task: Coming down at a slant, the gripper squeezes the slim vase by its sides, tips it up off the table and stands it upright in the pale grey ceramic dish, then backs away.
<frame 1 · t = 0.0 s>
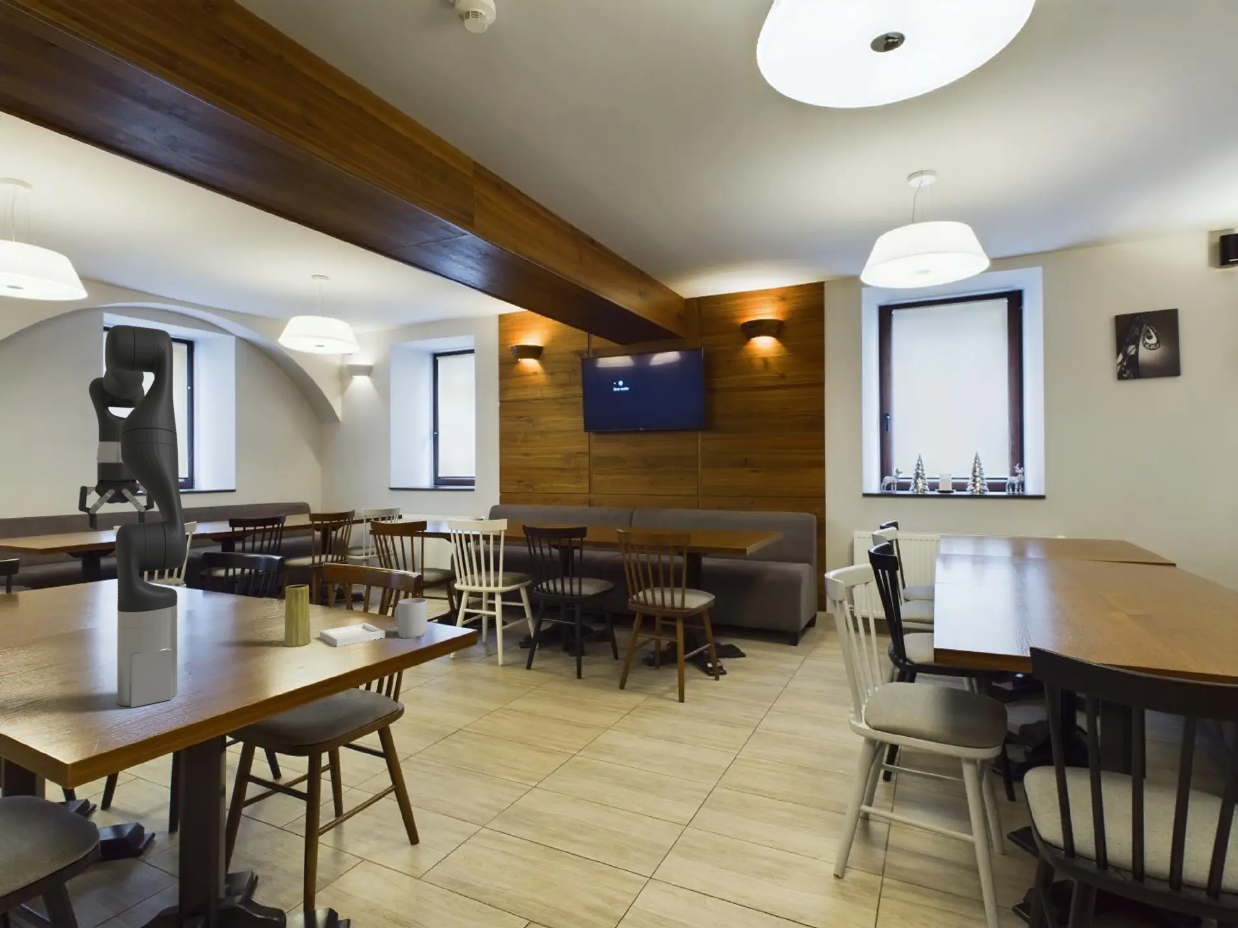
hand: (117, 528, 155), 29 cm above the table, tool pointing down, fingers open, 8 cm apart
cup: (409, 635, 169), on the table
dish: (352, 637, 166), on the table
vase: (297, 644, 161), on the table
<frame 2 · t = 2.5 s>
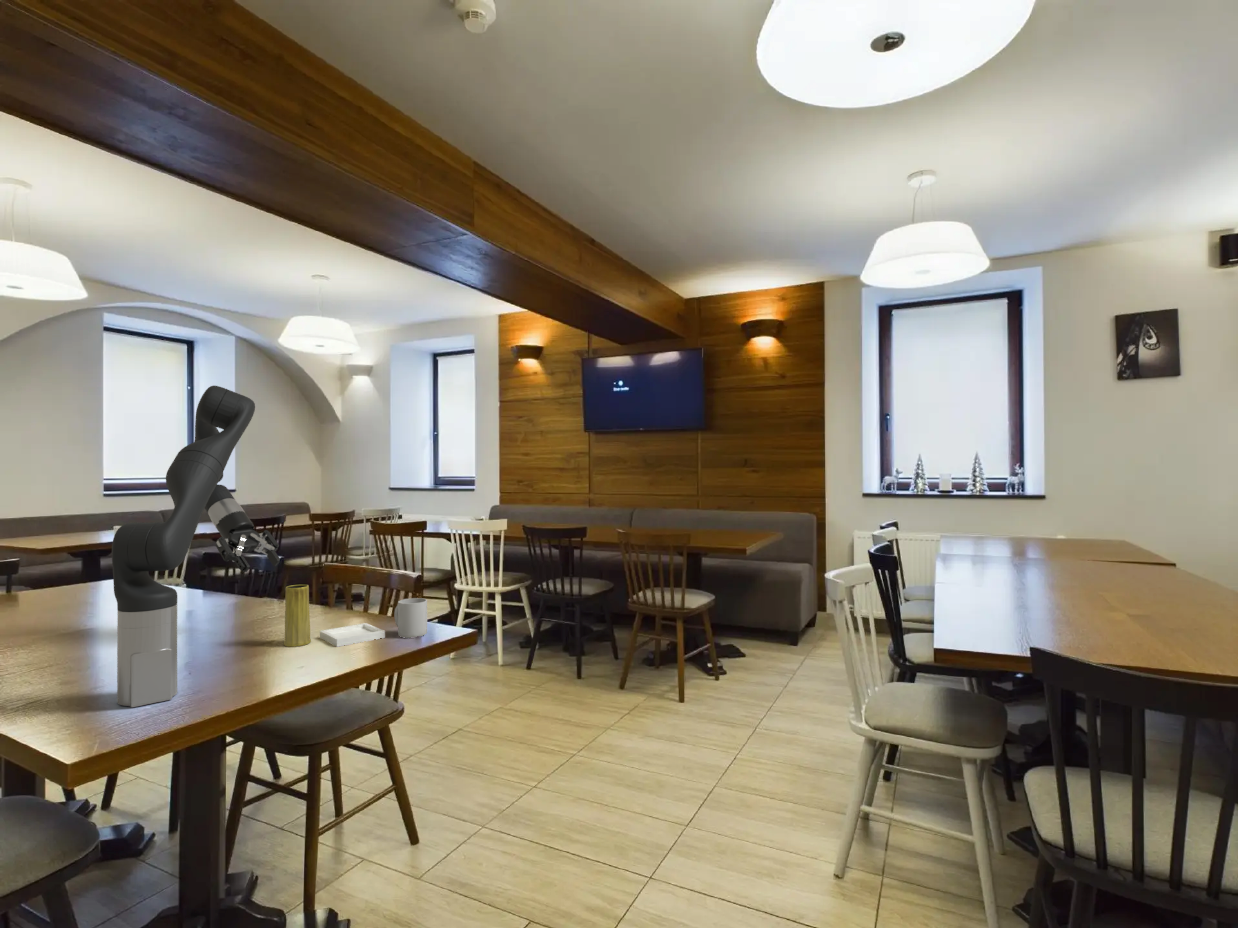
hand: (262, 566, 165), 18 cm above the table, tool tilted 45°, fingers open, 8 cm apart
nothing on the table moved.
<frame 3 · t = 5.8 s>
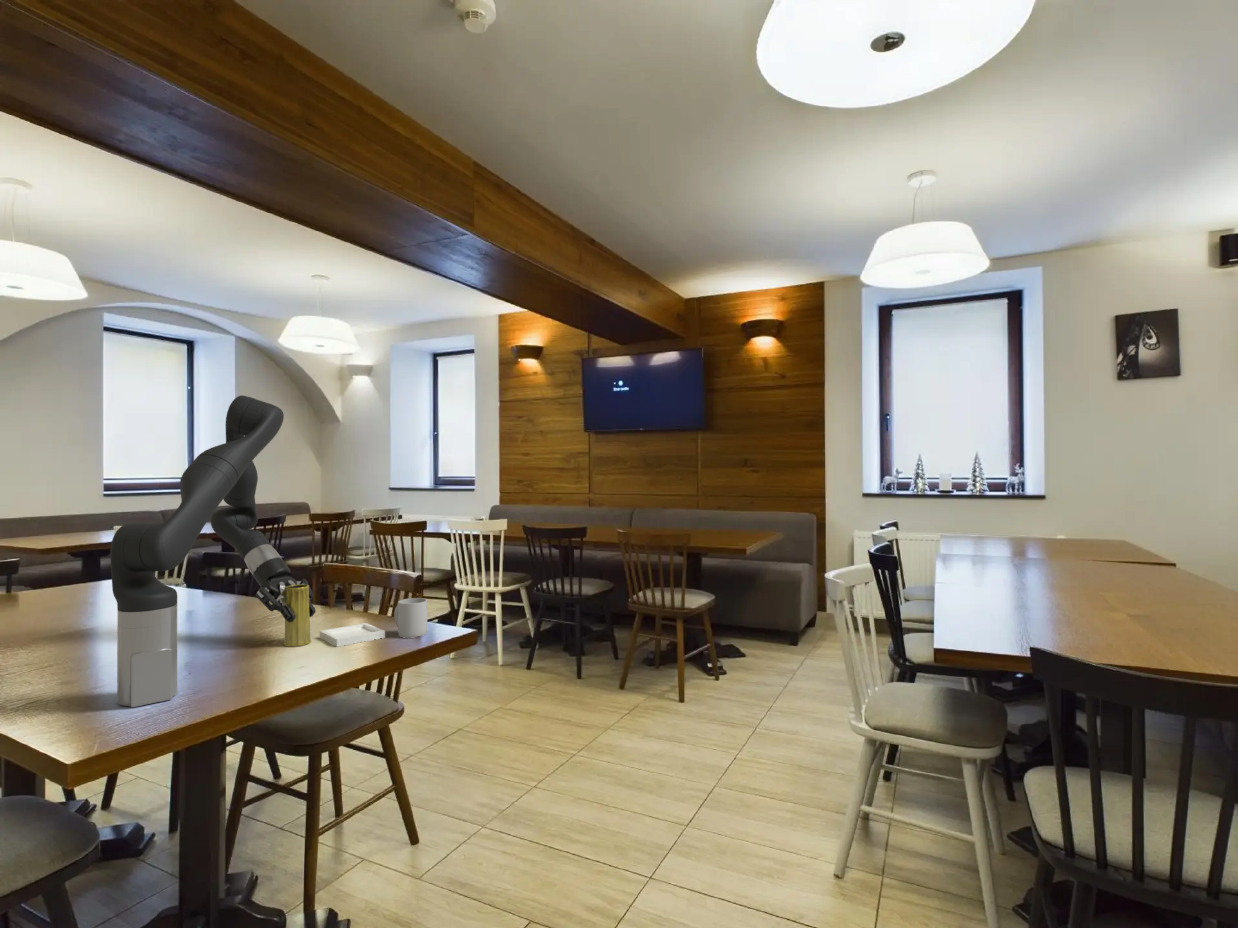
hand: (302, 617, 160), 7 cm above the table, tool tilted 45°, fingers closed on vase, 5 cm apart
vase: (297, 644, 161), on the table, touching gripper
everything else where it was.
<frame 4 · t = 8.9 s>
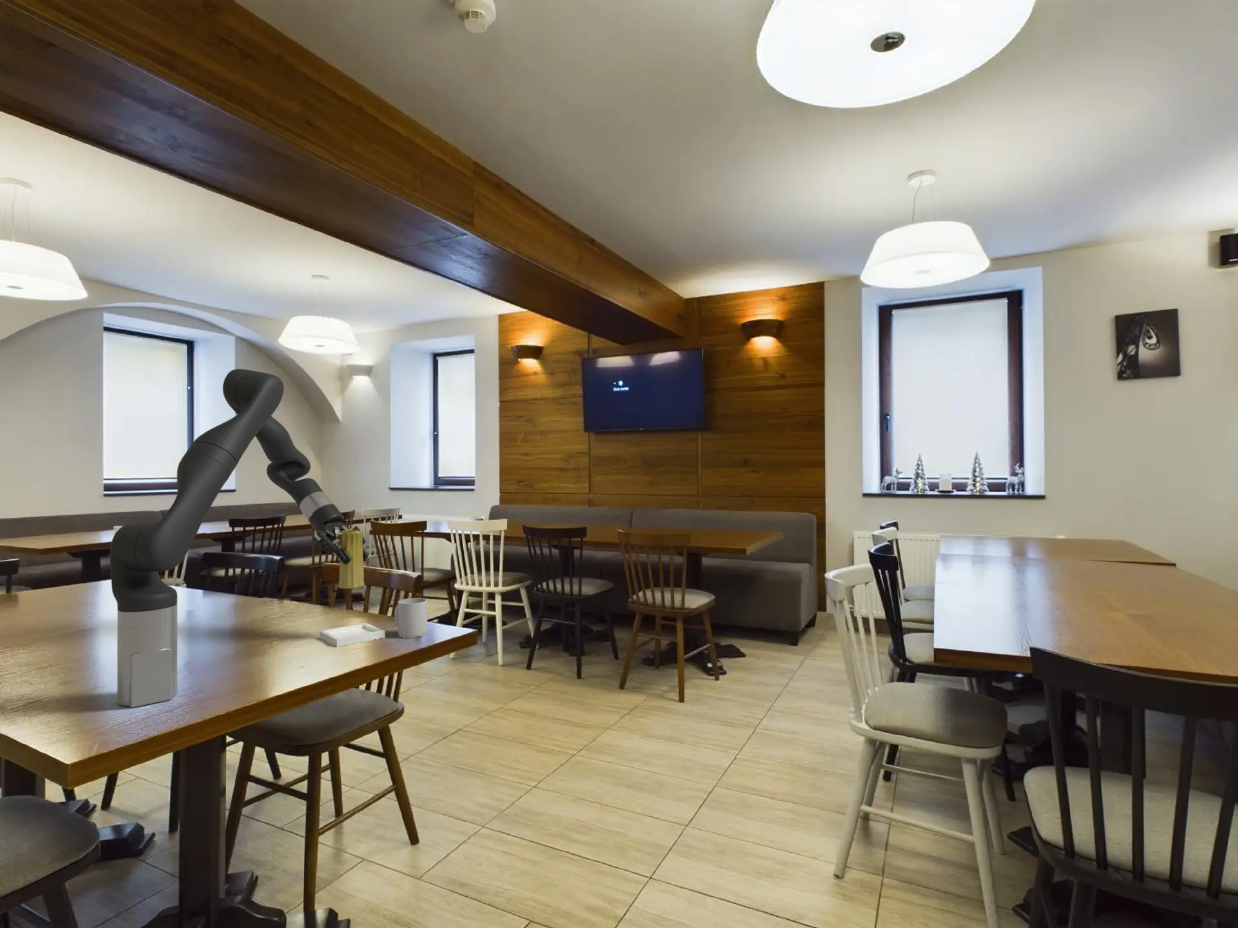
hand: (357, 560, 165), 20 cm above the table, tool tilted 45°, fingers closed on vase, 5 cm apart
vase: (351, 587, 166), point 13 cm above the table, touching gripper
everything else where it was.
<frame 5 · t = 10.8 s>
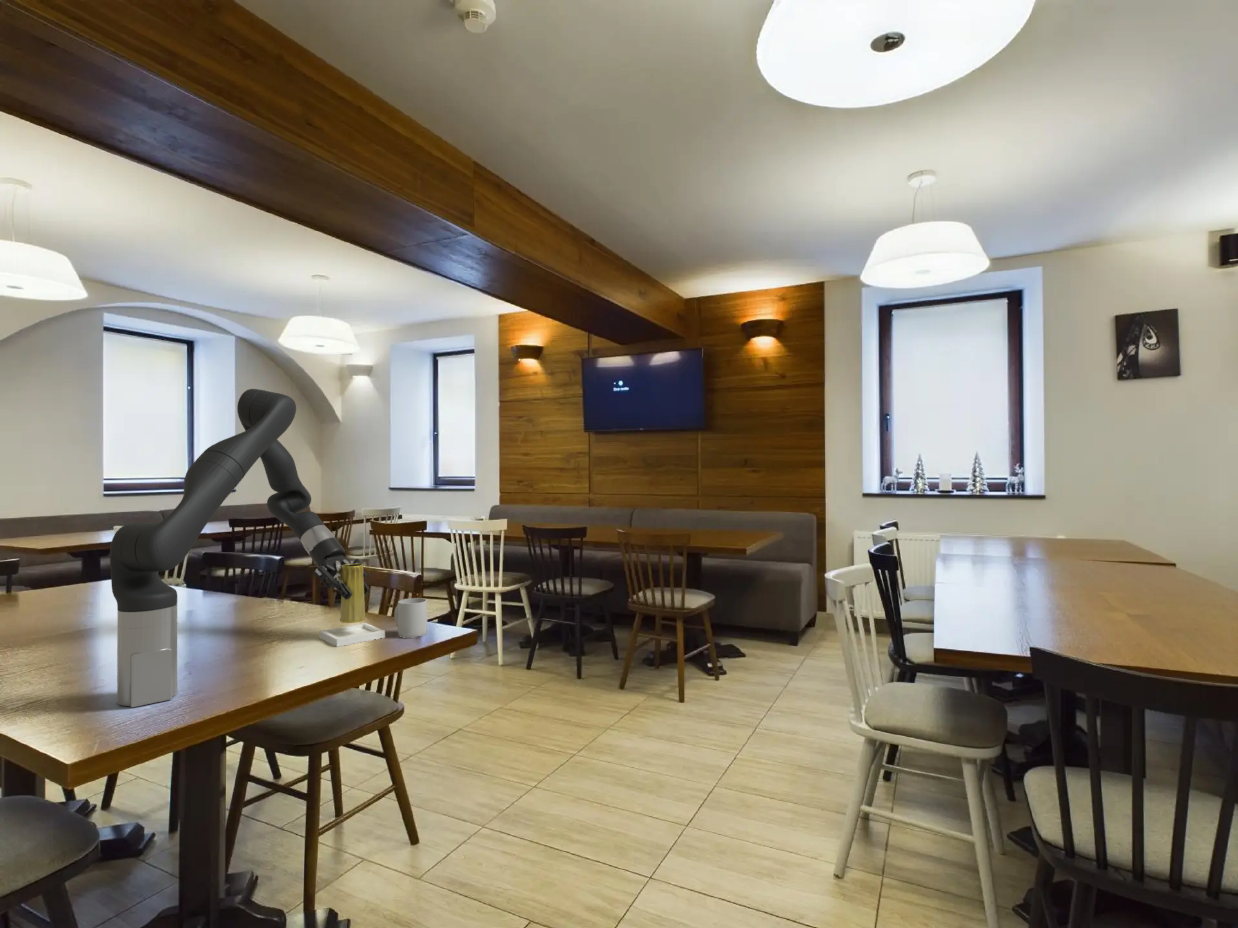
hand: (358, 594, 166), 11 cm above the table, tool tilted 45°, fingers closed on vase, 5 cm apart
vase: (352, 621, 166), point 4 cm above the table, touching gripper
everything else where it was.
when the fingers open (8 cm above the table, at t = 12.0 s): vase stays where it is, resting on dish.
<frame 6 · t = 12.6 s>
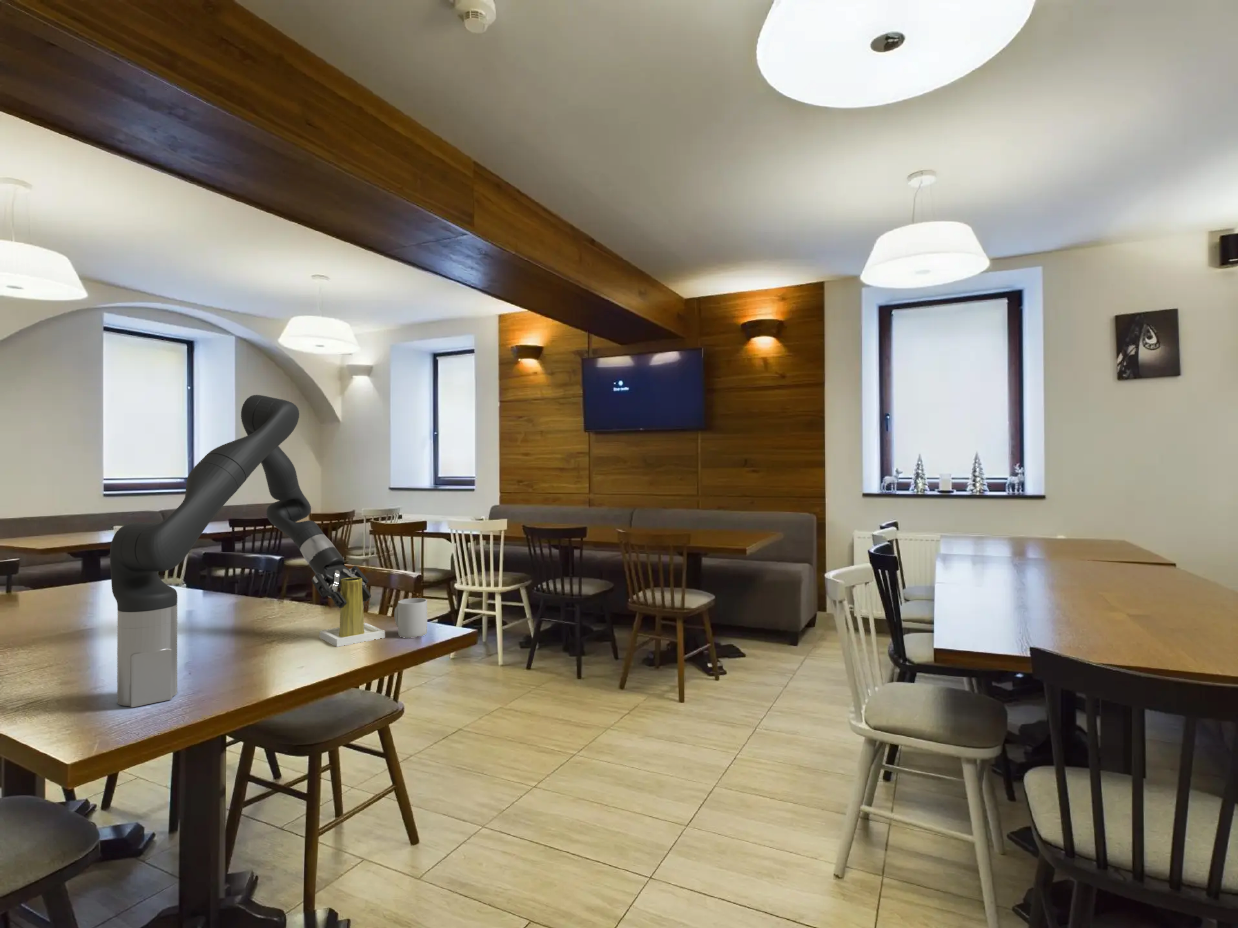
hand: (356, 602, 165), 9 cm above the table, tool tilted 45°, fingers open, 8 cm apart
vase: (351, 635, 166), point 1 cm above the table, touching dish
everything else where it was.
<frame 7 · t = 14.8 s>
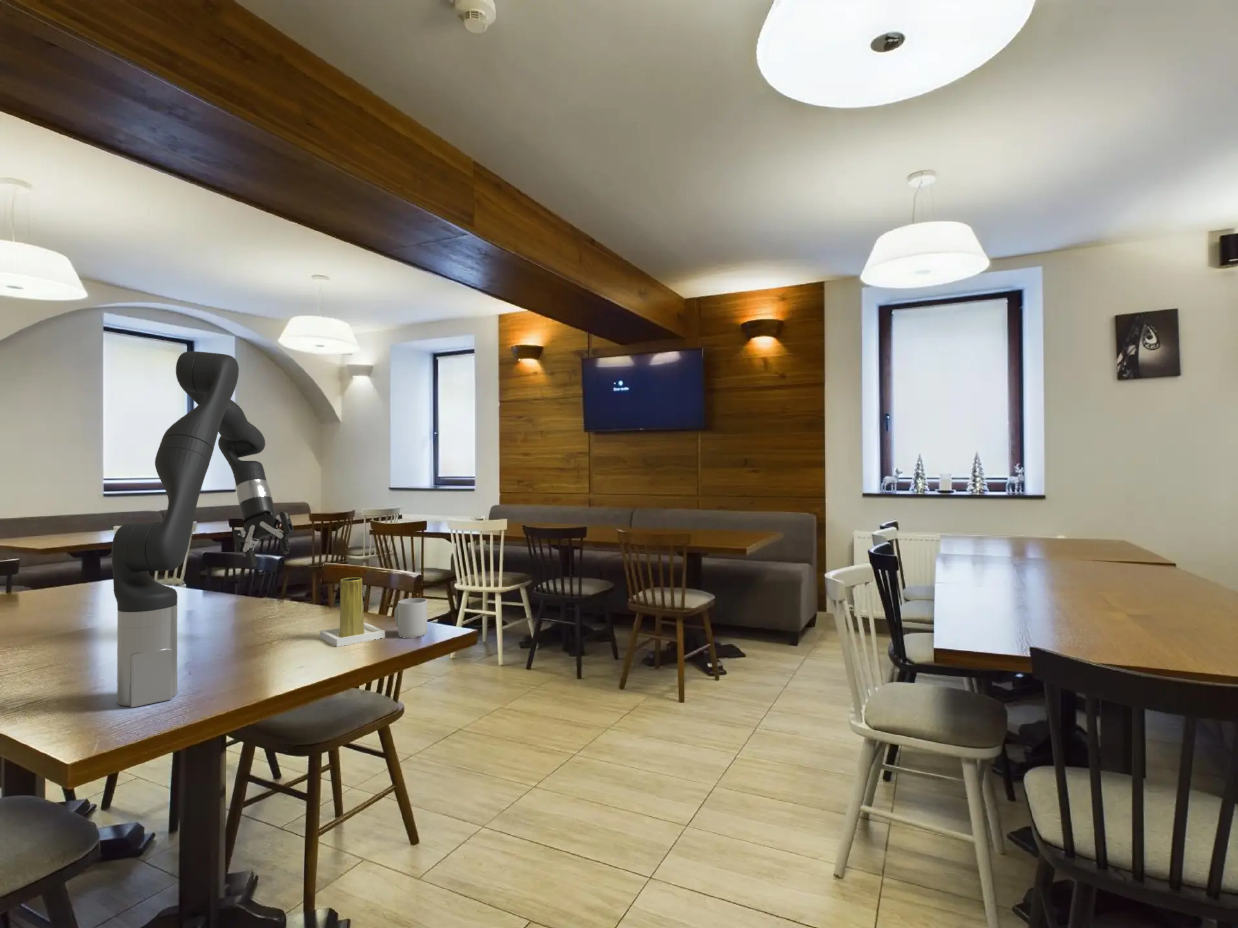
hand: (269, 559, 163), 21 cm above the table, tool tilted 25°, fingers open, 8 cm apart
nothing on the table moved.
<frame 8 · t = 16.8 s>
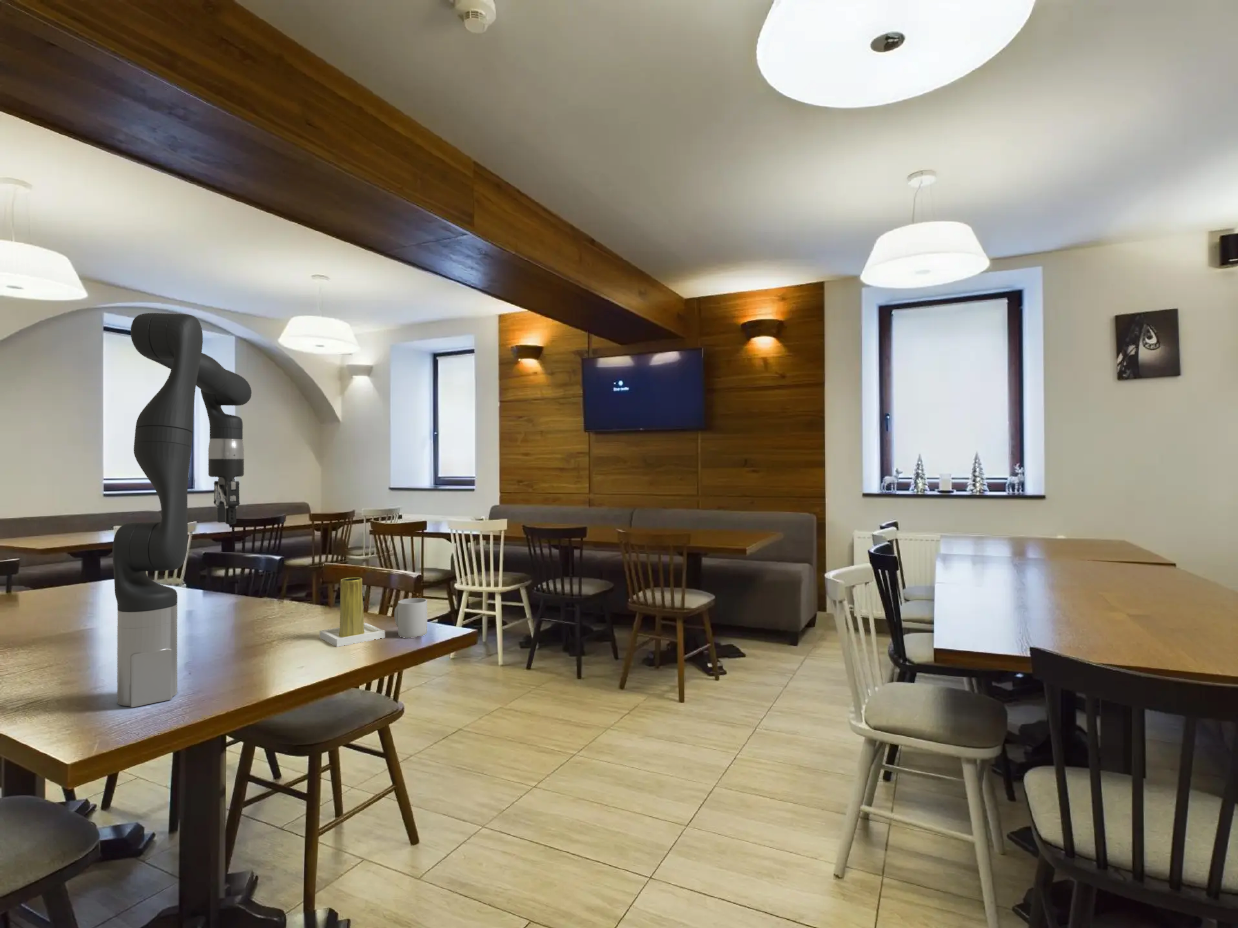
hand: (226, 523, 160), 30 cm above the table, tool pointing down, fingers open, 8 cm apart
nothing on the table moved.
at the end: vase inside the target area on the dish (0.2 cm from its centre), point 0.6 cm above the dish's base; vase tilted 0°; the gripper is holding nothing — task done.
